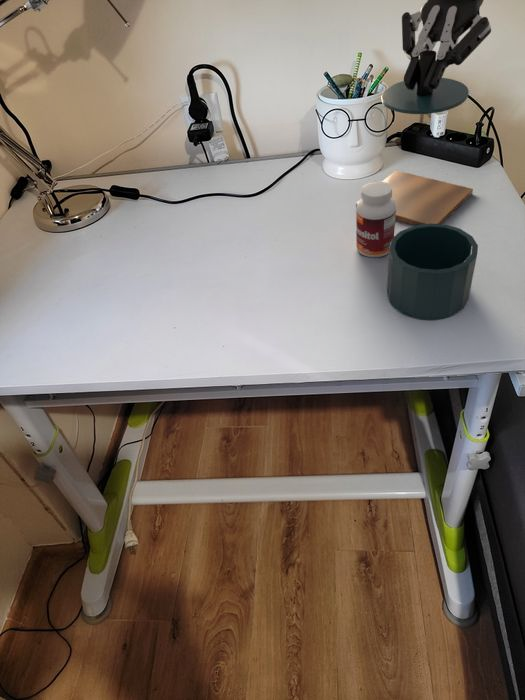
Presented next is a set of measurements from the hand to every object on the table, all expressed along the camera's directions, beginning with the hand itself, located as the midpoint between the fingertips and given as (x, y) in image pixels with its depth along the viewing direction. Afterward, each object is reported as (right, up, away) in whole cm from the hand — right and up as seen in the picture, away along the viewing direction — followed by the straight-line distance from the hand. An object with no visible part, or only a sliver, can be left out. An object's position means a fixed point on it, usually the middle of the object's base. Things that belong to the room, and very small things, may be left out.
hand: (418, 88), depth 75 cm
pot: (+2, -30, +2) cm, 30 cm away
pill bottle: (-4, -21, +11) cm, 25 cm away
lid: (+2, 0, +2) cm, 3 cm away
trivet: (+5, -11, +20) cm, 23 cm away
